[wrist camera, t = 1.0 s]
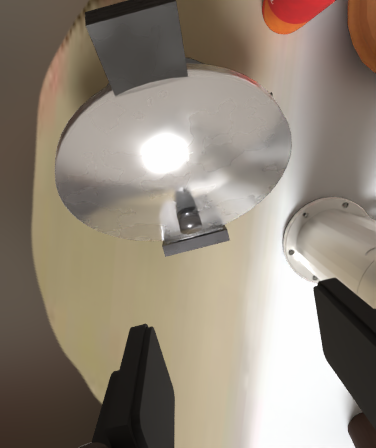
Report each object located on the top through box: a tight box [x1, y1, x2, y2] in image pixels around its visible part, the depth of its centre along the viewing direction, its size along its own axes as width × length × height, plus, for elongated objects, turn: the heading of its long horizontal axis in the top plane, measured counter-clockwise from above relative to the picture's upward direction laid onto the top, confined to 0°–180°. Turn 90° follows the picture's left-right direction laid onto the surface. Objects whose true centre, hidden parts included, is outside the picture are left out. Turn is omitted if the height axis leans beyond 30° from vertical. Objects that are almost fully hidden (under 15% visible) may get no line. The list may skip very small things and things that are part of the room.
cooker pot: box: [106, 58, 273, 257], centre depth 34 cm, size 22×19×10 cm
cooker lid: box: [55, 0, 292, 244], centre depth 22 cm, size 18×21×3 cm
